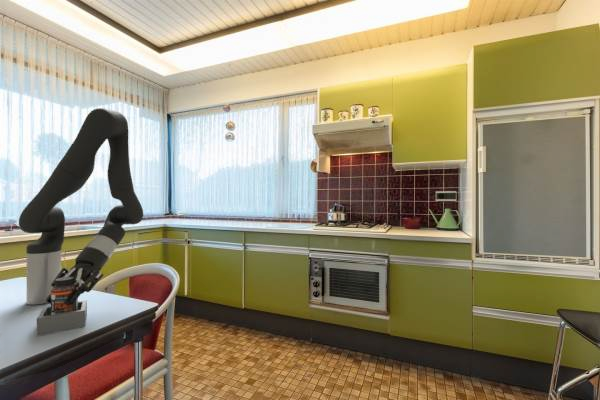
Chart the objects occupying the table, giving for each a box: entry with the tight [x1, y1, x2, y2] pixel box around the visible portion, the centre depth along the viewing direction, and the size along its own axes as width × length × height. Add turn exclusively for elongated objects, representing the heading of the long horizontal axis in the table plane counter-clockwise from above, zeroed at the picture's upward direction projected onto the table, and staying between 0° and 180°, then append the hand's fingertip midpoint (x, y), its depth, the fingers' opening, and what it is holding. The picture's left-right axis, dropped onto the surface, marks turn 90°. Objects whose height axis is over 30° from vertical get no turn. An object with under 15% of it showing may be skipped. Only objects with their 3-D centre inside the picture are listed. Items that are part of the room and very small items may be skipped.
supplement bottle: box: [50, 277, 79, 315], centre depth 81 cm, size 6×6×11 cm
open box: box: [36, 299, 88, 337], centre depth 81 cm, size 10×10×4 cm
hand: (58, 303), depth 79 cm, fingers closed on supplement bottle, 6 cm apart
